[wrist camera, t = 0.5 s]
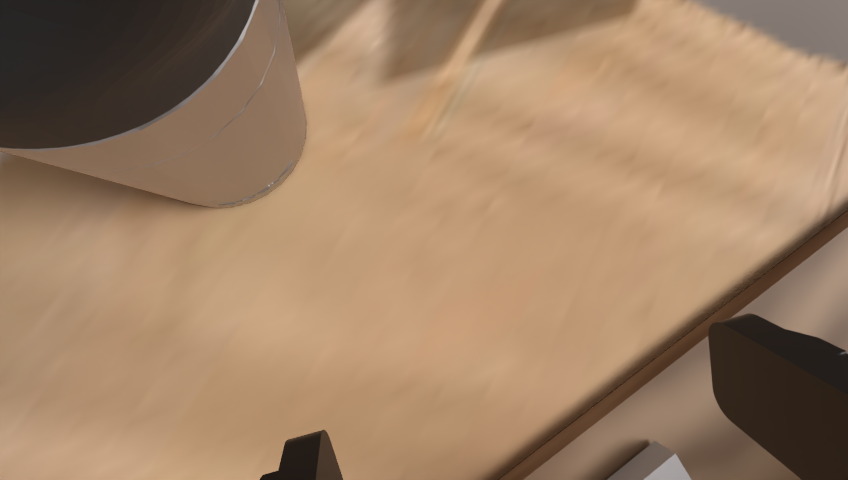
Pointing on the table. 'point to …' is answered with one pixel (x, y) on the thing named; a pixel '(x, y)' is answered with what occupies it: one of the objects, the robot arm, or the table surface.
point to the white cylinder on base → (653, 466)
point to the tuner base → (703, 383)
